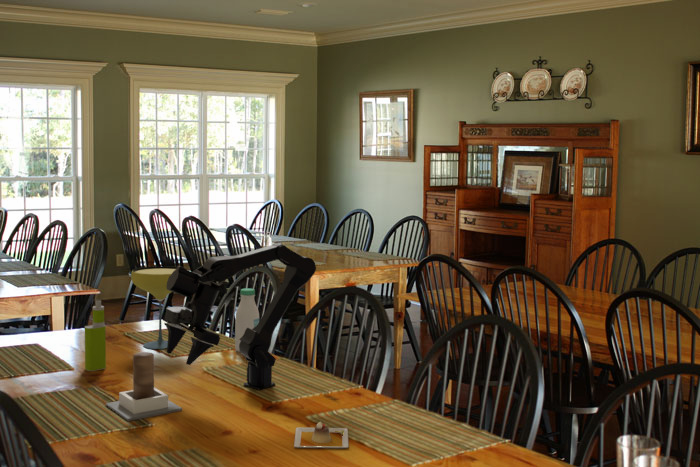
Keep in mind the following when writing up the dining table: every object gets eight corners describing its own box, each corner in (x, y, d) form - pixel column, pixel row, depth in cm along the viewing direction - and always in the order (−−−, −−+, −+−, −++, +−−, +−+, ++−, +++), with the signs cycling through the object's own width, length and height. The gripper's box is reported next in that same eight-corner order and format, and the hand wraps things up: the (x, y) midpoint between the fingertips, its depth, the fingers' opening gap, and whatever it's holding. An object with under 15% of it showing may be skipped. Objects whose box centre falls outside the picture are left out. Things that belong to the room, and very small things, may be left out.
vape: (108, 368, 235) (107, 300, 232) (89, 371, 230) (88, 303, 228) (102, 365, 237) (101, 299, 235) (83, 368, 233) (82, 301, 231)
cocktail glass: (146, 355, 250) (146, 276, 247) (122, 343, 263) (122, 268, 261) (198, 347, 261) (198, 271, 258) (172, 336, 275) (172, 264, 272)
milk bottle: (247, 354, 253) (247, 292, 251) (230, 350, 258) (230, 289, 256) (264, 350, 260) (264, 289, 257) (247, 346, 264) (247, 286, 262)
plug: (157, 403, 202) (157, 353, 200) (148, 409, 197) (148, 358, 195) (139, 401, 203) (139, 351, 201) (129, 407, 198) (129, 356, 197)
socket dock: (157, 396, 210) (157, 382, 209) (181, 410, 199) (181, 396, 198) (105, 405, 201) (105, 391, 201) (128, 421, 190) (127, 406, 190)
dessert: (347, 432, 187) (347, 412, 187) (348, 452, 176) (348, 431, 175) (296, 431, 187) (296, 412, 187) (293, 451, 175) (294, 430, 175)
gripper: (159, 285, 211) (134, 340, 209) (199, 304, 198) (173, 363, 196) (190, 297, 219) (167, 350, 217) (231, 316, 206) (207, 373, 204)
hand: (178, 358), depth 208 cm, fingers open, 9 cm apart
